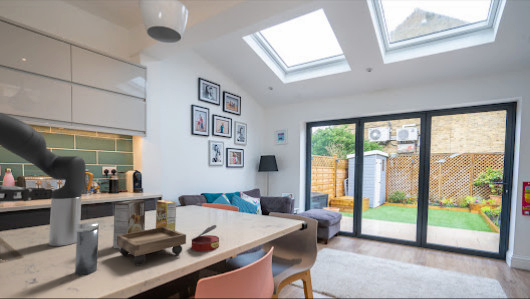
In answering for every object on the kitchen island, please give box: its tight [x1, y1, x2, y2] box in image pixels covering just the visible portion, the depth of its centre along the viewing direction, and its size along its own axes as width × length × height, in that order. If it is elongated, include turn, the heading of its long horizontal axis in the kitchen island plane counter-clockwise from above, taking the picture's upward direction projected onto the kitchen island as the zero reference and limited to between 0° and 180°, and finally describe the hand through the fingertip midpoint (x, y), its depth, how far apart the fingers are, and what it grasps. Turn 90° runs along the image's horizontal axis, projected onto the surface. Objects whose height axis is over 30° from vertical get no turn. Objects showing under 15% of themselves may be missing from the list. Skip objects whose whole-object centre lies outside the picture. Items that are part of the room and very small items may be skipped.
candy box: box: [155, 199, 177, 231], centre depth 101 cm, size 9×4×15 cm, turn 50°
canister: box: [74, 221, 100, 277], centre depth 71 cm, size 5×5×13 cm
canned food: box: [191, 224, 220, 252], centre depth 92 cm, size 11×10×10 cm
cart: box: [117, 227, 187, 266], centre depth 84 cm, size 16×16×6 cm
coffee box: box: [112, 199, 146, 249], centre depth 95 cm, size 9×6×16 cm
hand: (48, 192), depth 65 cm, fingers open, 8 cm apart
